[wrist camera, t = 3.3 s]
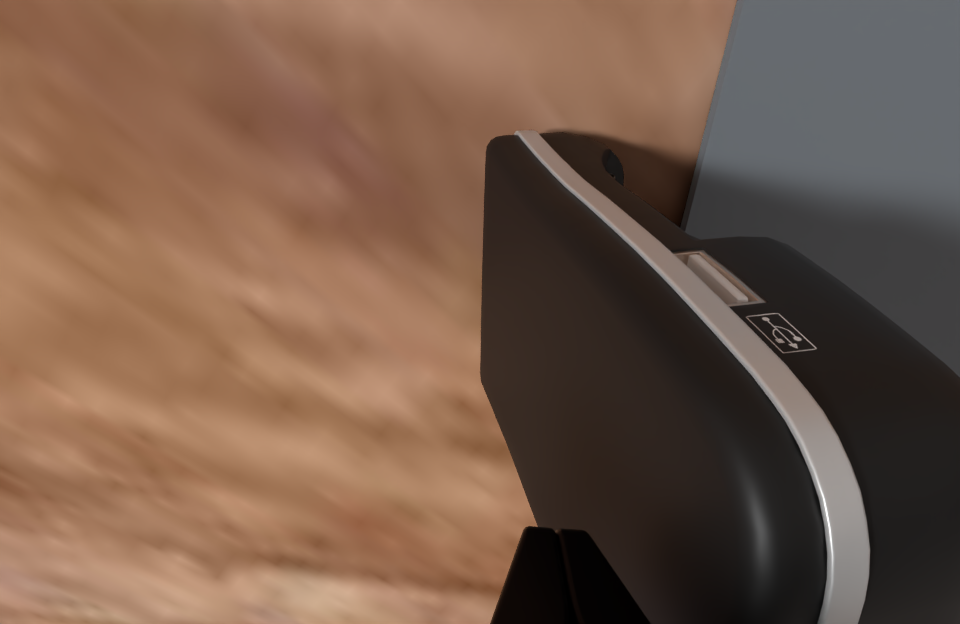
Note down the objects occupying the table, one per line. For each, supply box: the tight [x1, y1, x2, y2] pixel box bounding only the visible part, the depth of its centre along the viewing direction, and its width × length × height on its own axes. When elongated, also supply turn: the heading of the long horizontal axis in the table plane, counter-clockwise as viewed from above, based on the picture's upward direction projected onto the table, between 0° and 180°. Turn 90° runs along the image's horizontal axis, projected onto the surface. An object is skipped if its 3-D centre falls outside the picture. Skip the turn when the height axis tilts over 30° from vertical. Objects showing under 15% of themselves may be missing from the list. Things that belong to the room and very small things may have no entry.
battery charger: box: [480, 130, 960, 624], centre depth 13 cm, size 7×4×11 cm, turn 179°
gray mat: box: [680, 0, 960, 377], centre depth 17 cm, size 12×16×1 cm
